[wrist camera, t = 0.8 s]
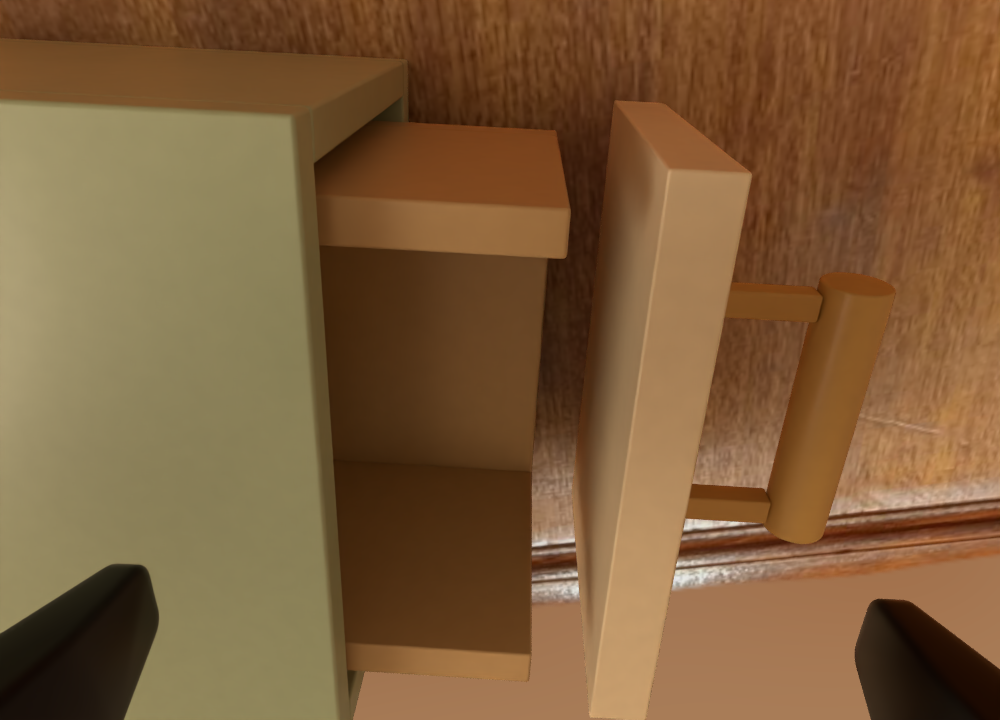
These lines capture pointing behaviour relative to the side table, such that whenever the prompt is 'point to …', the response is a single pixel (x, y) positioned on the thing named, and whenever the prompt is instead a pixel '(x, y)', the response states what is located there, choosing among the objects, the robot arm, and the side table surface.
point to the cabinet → (178, 357)
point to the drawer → (515, 377)
